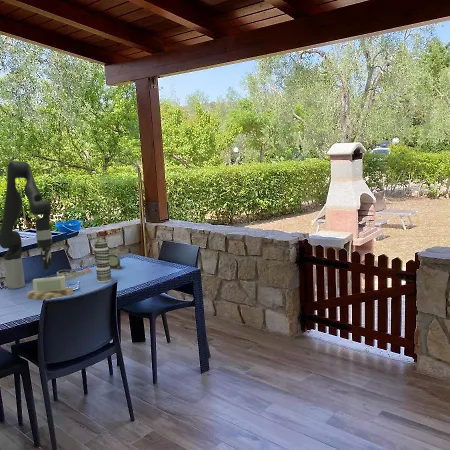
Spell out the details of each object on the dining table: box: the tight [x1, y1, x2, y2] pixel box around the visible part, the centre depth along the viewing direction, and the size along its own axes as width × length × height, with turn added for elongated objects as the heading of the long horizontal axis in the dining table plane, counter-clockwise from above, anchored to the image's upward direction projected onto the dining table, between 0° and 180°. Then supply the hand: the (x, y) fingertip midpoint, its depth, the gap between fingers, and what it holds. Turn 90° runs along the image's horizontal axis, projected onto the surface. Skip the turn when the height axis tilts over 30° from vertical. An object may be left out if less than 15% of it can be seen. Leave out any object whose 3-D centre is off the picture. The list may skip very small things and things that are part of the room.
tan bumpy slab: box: [27, 287, 74, 301], centre depth 248 cm, size 20×13×3 cm, turn 66°
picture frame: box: [32, 276, 67, 293], centre depth 247 cm, size 16×4×7 cm, turn 101°
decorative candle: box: [93, 238, 112, 283], centre depth 271 cm, size 9×9×25 cm
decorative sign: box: [56, 268, 92, 281], centre depth 290 cm, size 22×2×20 cm
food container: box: [108, 252, 122, 271], centre depth 302 cm, size 12×6×10 cm, turn 58°
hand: (47, 267), depth 245 cm, fingers open, 8 cm apart
